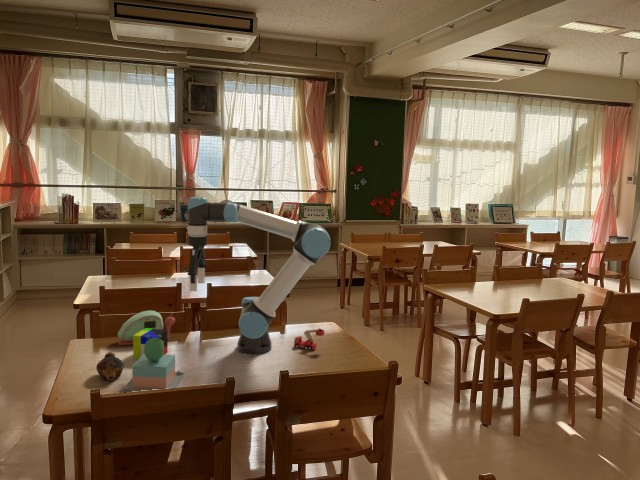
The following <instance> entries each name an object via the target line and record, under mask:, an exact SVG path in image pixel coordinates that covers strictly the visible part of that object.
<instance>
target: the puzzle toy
mask: <svg viewBox="0 0 640 480" xmlns="http://www.w3.org/2000/svg"><path fill="white" fill-rule="evenodd" d="M159 334H160V335H161V336H162V337H160V338H159V339H160V340H162V342H163V345H164V353H163V354H164V355H167V353H169V352H168V339H167V330H160V329H151V328H145V329H143V330H142V331H140V332H138V333H136V334H135V335H133V344H132V345H133V348H132V349H133V359H135V360H136V359H137V360H138V359H139V358H140V357H141V356H142V355H143V354H145V353H144V347H145V344H146V342H147V340H149V339H148V338H146V335H150V337H149V338H150V339H151V338H158V335H159Z"/></svg>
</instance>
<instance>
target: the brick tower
mask: <svg viewBox="0 0 640 480" xmlns="http://www.w3.org/2000/svg"><path fill="white" fill-rule="evenodd" d="M131 368H132V370H131V371H132V378H131V379H130V380H129V381H128V382H127V383H126V384H125V385H124V386H123V388H122V389H121V391H120V392H132V391H141V390H152V389H165V388H176V387H177V388H178V386H179V384H180V383H181V381H182V380H183V378H184V377H185V375H186V371H184V370H182V369H180V370H177V371H176V354H165V355H164V354H163V356H162V357H161V358H160V359H159V360H157V361H150V360H148V359H147V358H146V356H145V354H143V355H142V356H141V357H140V358H139V359H137V360H135V362H134V364H132V367H131ZM177 388H176V389H177Z"/></svg>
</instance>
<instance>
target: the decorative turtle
mask: <svg viewBox="0 0 640 480" xmlns="http://www.w3.org/2000/svg"><path fill="white" fill-rule="evenodd" d="M124 365H125V364H124V362H123V360H121V358H118V357H116V355H115V353H114V352H112V351H108V352H107V353H105V355H104V357H103V358H102V359H100V360H99V361H98V362H97V365H96V371H97V373H98V375H99V376H100V379H101V380H103V381H105V380H106V379H107V381H113V380H115V378H116V379H118V378H120V377H121V375H122V373H123V371H124V368H125V366H124Z"/></svg>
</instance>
